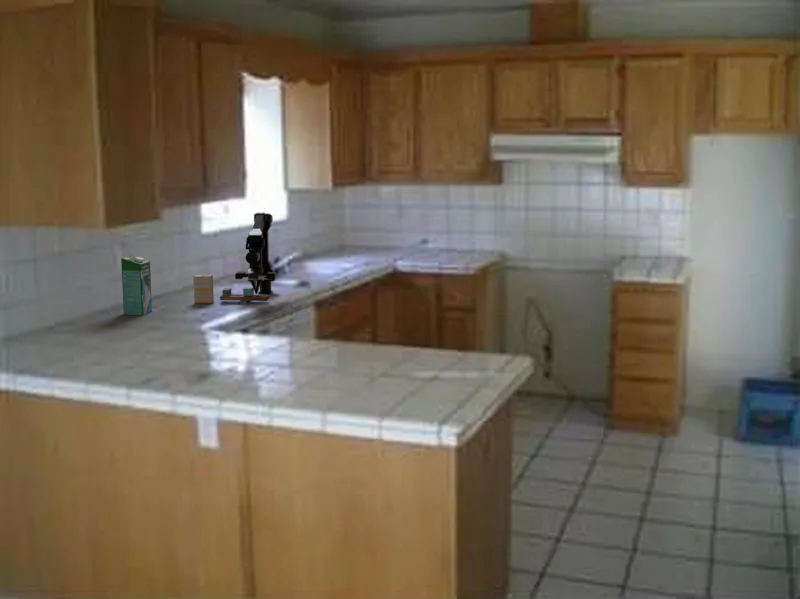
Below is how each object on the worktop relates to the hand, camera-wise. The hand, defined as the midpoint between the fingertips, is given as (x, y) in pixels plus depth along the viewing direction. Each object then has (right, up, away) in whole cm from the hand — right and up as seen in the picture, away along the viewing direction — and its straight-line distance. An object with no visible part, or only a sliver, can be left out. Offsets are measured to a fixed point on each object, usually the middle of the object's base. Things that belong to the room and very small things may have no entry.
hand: (256, 293), depth 432 cm
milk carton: (-48, -9, -25) cm, 55 cm away
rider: (-4, -2, +1) cm, 4 cm away
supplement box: (-25, -4, 0) cm, 25 cm away
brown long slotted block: (-5, -4, +1) cm, 7 cm away
